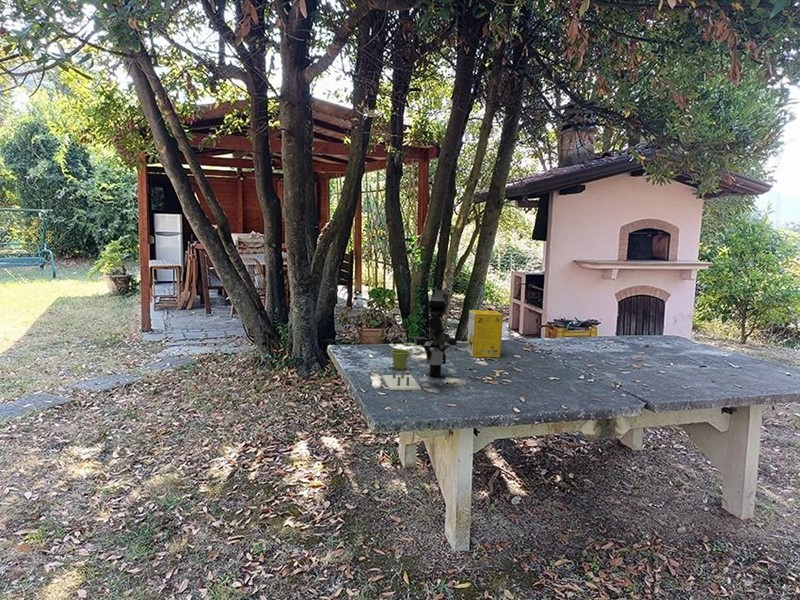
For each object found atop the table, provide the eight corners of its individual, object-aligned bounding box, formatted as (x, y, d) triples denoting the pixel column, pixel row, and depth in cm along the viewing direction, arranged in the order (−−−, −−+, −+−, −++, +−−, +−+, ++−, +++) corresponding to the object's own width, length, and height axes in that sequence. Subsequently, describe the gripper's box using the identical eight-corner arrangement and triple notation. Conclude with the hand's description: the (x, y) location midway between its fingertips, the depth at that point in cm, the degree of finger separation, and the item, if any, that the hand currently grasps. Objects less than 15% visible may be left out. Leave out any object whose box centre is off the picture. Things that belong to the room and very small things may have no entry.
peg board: (381, 377, 251) (382, 367, 251) (410, 376, 254) (410, 367, 253) (389, 390, 230) (390, 380, 229) (421, 390, 232) (421, 380, 232)
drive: (426, 360, 246) (427, 347, 245) (436, 360, 247) (437, 347, 246) (431, 365, 237) (432, 351, 236) (442, 364, 238) (443, 351, 237)
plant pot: (386, 367, 271) (387, 350, 270) (401, 365, 277) (402, 348, 275) (397, 371, 263) (398, 354, 262) (412, 369, 269) (413, 352, 268)
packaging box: (466, 351, 319) (469, 309, 316) (493, 351, 320) (496, 310, 317) (471, 357, 303) (474, 313, 300) (499, 358, 304) (502, 315, 301)
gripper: (420, 328, 230) (418, 364, 232) (461, 329, 234) (459, 363, 236) (414, 324, 241) (412, 358, 243) (453, 324, 245) (451, 358, 247)
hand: (434, 359), depth 242 cm, fingers closed on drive, 5 cm apart
